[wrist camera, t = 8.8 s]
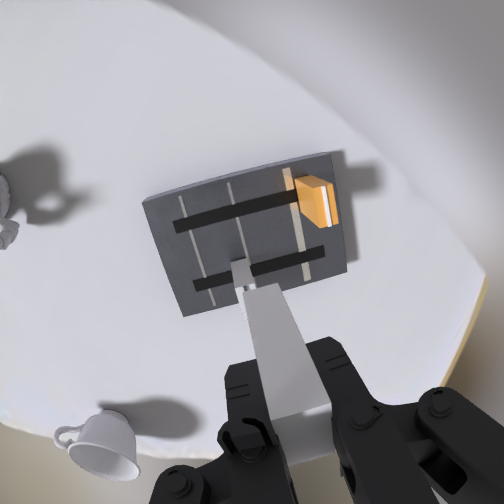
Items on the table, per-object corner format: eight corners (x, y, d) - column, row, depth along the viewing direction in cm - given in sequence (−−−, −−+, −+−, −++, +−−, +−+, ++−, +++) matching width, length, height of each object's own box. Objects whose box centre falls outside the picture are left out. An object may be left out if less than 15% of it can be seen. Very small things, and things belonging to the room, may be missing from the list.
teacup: (68, 380, 40) (49, 425, 31) (152, 411, 44) (147, 460, 34) (65, 418, 43) (52, 459, 34) (139, 445, 47) (134, 487, 38)
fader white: (230, 262, 33) (235, 289, 27) (246, 257, 33) (254, 284, 27) (238, 291, 34) (244, 322, 29) (254, 287, 34) (263, 316, 29)
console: (146, 197, 32) (141, 202, 30) (322, 152, 33) (330, 153, 30) (184, 306, 37) (183, 317, 35) (339, 263, 38) (347, 272, 36)
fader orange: (294, 178, 31) (313, 188, 25) (310, 174, 31) (333, 184, 25) (300, 212, 32) (320, 229, 26) (316, 208, 32) (339, 224, 26)
